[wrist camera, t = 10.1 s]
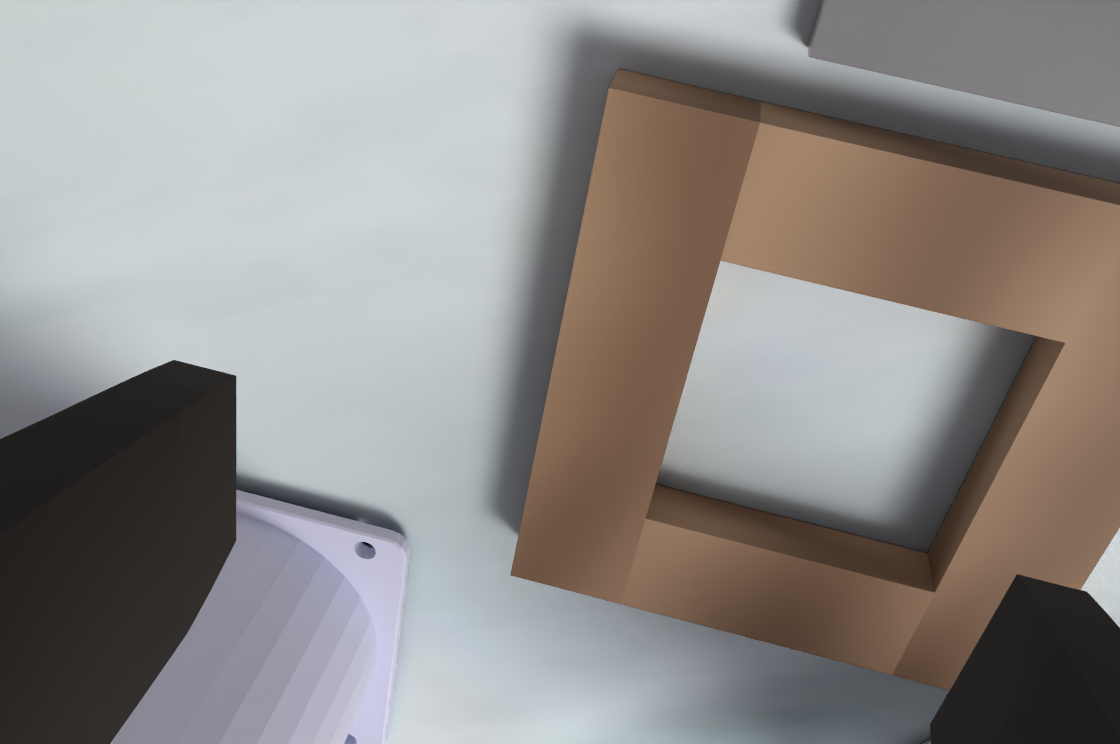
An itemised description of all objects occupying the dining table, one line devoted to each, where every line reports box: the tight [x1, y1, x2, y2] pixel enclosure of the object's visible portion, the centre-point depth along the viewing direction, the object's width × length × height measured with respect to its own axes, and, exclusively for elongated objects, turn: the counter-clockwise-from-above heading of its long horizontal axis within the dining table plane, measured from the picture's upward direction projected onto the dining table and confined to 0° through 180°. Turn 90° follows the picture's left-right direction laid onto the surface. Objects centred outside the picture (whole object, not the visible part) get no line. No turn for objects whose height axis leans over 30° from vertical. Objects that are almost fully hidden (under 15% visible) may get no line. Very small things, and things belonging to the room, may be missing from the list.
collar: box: [511, 69, 1120, 690], centre depth 20 cm, size 11×11×1 cm
